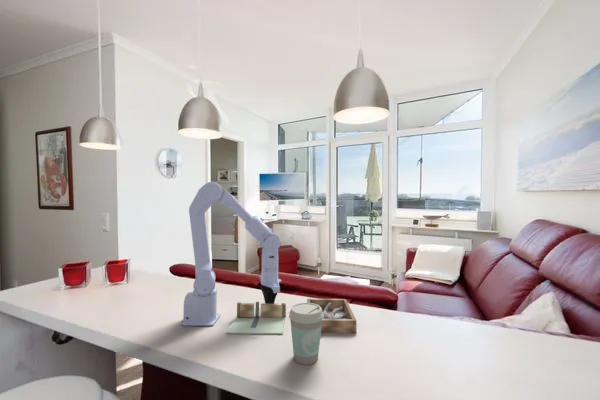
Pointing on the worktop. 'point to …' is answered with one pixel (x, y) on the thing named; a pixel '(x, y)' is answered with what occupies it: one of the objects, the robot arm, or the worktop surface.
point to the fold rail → (273, 310)
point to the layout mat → (257, 325)
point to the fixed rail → (247, 310)
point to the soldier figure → (333, 313)
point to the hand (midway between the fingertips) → (269, 307)
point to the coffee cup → (306, 331)
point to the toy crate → (336, 324)
